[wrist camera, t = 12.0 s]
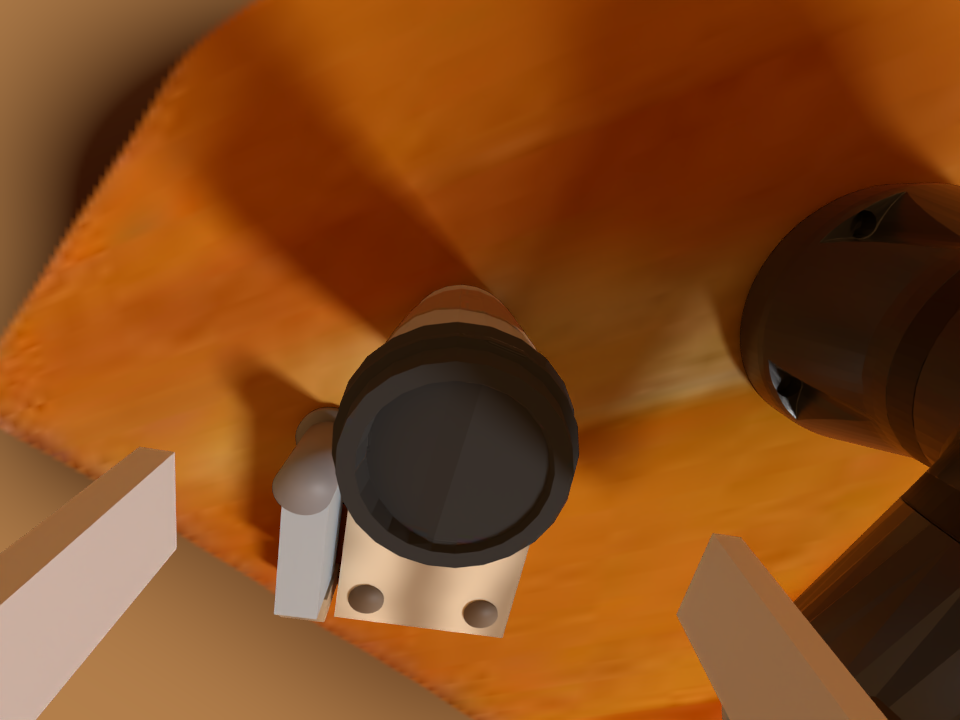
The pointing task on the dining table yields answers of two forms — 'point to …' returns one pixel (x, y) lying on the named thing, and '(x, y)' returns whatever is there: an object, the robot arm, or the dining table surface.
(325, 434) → the leg bar
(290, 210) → the dining table surface
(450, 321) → the coffee cup
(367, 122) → the dining table surface
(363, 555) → the seat panel
